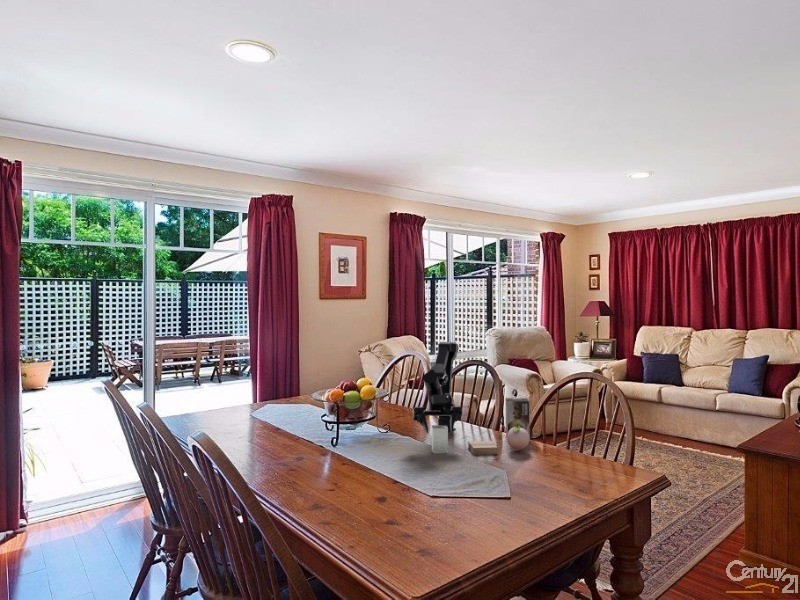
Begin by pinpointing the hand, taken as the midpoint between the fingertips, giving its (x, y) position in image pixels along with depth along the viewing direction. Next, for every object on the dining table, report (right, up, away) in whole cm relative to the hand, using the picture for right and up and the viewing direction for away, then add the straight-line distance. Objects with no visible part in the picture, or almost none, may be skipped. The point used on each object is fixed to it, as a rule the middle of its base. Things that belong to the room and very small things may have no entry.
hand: (439, 432), depth 191 cm
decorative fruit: (+30, -7, +1) cm, 31 cm away
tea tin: (0, -7, +1) cm, 7 cm away
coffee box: (+34, -8, +19) cm, 40 cm away
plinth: (+16, -7, +2) cm, 18 cm away
